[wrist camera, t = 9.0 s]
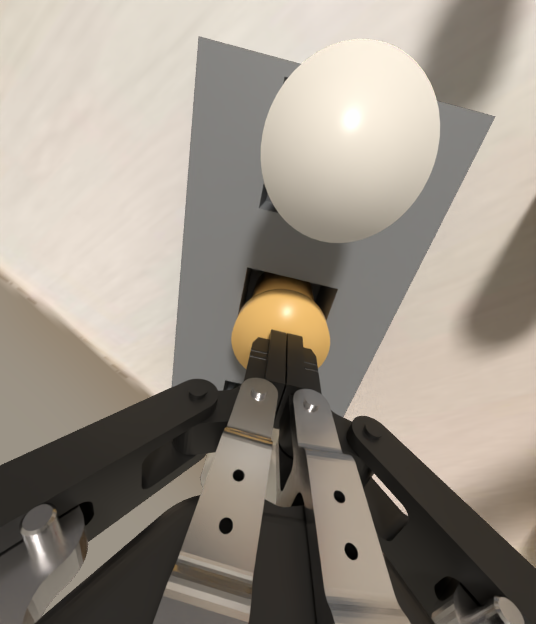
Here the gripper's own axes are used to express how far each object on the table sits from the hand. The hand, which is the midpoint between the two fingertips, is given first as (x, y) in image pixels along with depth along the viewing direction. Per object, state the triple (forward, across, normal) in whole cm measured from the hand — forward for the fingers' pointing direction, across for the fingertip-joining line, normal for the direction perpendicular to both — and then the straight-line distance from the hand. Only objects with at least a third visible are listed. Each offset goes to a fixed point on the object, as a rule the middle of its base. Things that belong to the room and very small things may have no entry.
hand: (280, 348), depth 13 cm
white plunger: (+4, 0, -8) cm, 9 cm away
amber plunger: (+7, 0, 0) cm, 7 cm away
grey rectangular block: (+8, 0, 0) cm, 8 cm away
